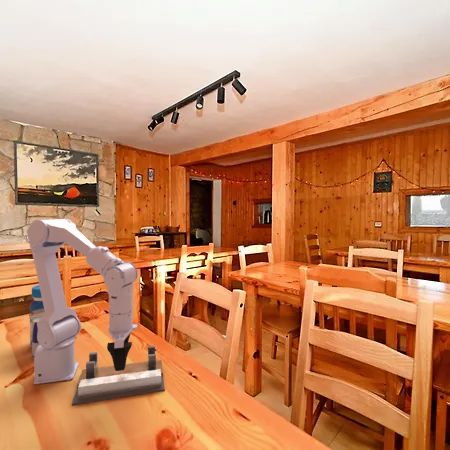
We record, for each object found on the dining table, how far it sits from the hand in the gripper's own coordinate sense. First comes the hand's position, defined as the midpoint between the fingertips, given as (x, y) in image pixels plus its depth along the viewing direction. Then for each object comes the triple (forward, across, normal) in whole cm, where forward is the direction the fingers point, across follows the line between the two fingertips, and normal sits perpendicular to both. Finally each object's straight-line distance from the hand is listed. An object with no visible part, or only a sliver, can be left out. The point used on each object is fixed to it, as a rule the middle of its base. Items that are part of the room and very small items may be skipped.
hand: (120, 361), depth 74 cm
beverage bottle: (+8, +33, +27) cm, 43 cm away
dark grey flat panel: (+8, 0, 0) cm, 8 cm away
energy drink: (+8, +24, +25) cm, 35 cm away
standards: (+8, +7, 0) cm, 10 cm away
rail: (+7, 0, 0) cm, 7 cm away
